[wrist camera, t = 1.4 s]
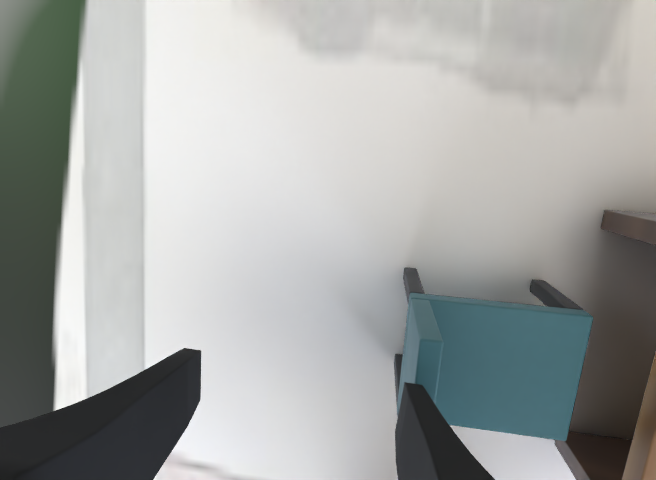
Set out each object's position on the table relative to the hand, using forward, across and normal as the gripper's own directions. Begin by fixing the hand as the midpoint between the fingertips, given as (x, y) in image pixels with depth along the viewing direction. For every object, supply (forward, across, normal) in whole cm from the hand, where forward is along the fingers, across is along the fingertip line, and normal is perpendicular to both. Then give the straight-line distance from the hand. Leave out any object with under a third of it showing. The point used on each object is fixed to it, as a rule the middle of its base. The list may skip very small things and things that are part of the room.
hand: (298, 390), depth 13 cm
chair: (+9, -8, +1) cm, 12 cm away
